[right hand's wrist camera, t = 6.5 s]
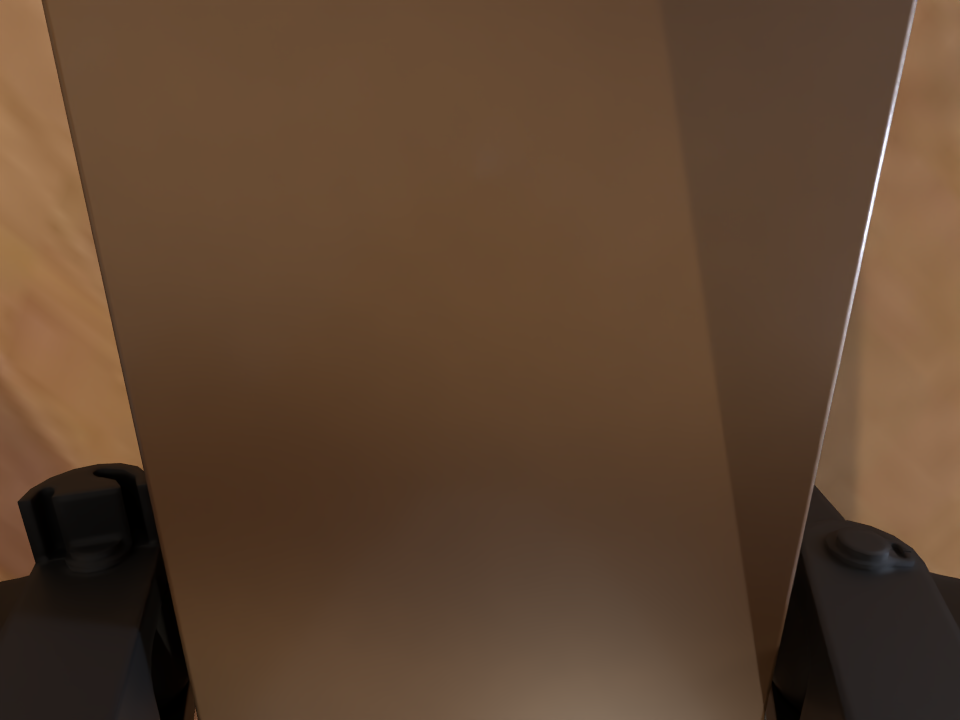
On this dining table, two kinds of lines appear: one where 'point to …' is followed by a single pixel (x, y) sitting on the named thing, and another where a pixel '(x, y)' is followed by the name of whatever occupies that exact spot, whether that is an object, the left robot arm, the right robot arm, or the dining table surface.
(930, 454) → the dining table surface
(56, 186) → the dining table surface
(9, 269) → the dining table surface
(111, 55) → the bar
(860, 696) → the right robot arm
